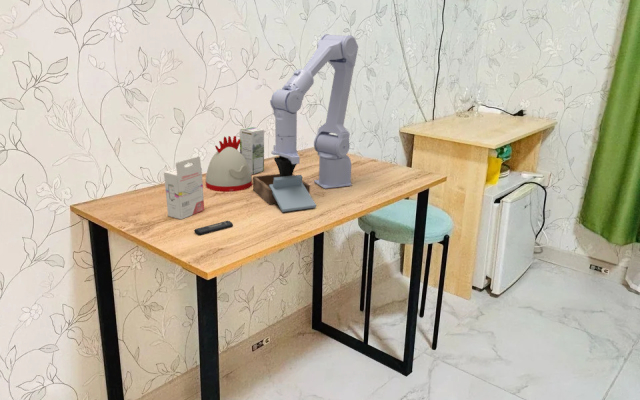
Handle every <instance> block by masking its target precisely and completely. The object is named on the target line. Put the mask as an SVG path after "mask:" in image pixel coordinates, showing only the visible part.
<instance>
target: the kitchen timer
mask: <svg viewBox="0 0 640 400" xmlns="http://www.w3.org/2000/svg"><path fill="white" fill-rule="evenodd" d="M218 143H219V147H220V148H219V147H218V146H217V145H215V144H214V147H215V149H216V152H215V153H214V154H213V155H212V157H211V159H210V161H209V164H208V166H207V170H206V175H205V187H206V188H207V189H209V190H210V191H214V192H221V193H223V192H225V193H229V192H230V193H231V192H233V193H234V192H239V191H240V192H241V191H244V190H248V189H249V188H250V189H251V187H253V175H252V174H251V172H250V169H249V166H248V163H247V161H246V159H245V158H244V156H243V155H242V154H241V153H240V150H238V149H239V148H240V138H239V139H237V136H236V135H234V136H233V138H231V136H229V135H228V137H227V136H223V142H222V140H218Z"/></svg>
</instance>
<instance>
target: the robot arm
mask: <svg viewBox="0 0 640 400" xmlns="http://www.w3.org/2000/svg"><path fill="white" fill-rule="evenodd" d="M316 44H317V45H316V50H315V51H314V53H313V54H312V56H311V57H310V59H309V60H308V61H307V62H306V64H305V66H304V67H303V68H298V69H296V70H294V71H293V72H292V73H293V74H292V75H291V77H290V78H289V79H288V80H287V81H286V83H285V84H284V85H283V87H282V88H279V89H276V91H274V92H273V94H272V96H271V100H269V103H270V106H271V108H272V111H273V115H274V118H275V121H274V122H275V123H274V124H275V129H274V130H275V131H274V132H275V133H274V135H275V138H274V140H275V145H273V150H271V152H270V153H271V155H273V156H276V157H274V158H273V159H274V162H275V165H276V166H277V169H278V172H279V173H278V174H280V177H285V176H292V174H294V170H295V169H296V166H297V165H300V159H301V158H300V155H299V154H298V150H297V146H298V145H297V138H298V137H297V136H298V135H297V134H298V131H297V129H298V128H297V125H298V124H297V122H298V120H297V118H298V116H297V115H298V114H297V113H298V111H300V110H301V108H302V105H303V100H304V97H305V95H306V94H307V93H308V91H309V90H311V88H312V87H313V86H314V83H315V82H314V81H315V79H314V77H315V76H316V75H317V74H318V73H319V72H320V71H321V70H322V69H323V67H324V66H325V65H327V63H329V64H330V65H331V66H332V67H333V69H334V74H333V81H332V85H331V91H330V98H329V103H328V108H327V109H328V110H327V113H326V120H325V122H324V124H322V125H321V126H320V127H318V129H317V133H316V135H315V138H314V140H313V147H314V150H315V152H316V153H317V156H319V158H318V159H319V163H318V164H319V165H318V179H315V180H313V182H314V183H315V184H317V185H318V186H320V187H321V188H322V189H326V190H327V189H334V188H343V187H350V186H352V184H353V183H351V181H352V161H351V158H350V156H349V155H347V154H348V153H349V150H350V135H351V134H350V132H349V131H348V130H347V129H346V127H345V126H344V125H345V124H344V123H345V119H346V112H347V108H348V104H349V103H348V102H349V97H350V93H351V92H350V91H351V86H352V79H353V74H354V69H355V68H354V67H355V66H356V60H357V55H358V49H359V44H358V43H357V41H356V39H355V37H354V36H353V35H350V34H347V35H342V34H340V35H337V34H328V33H325V34H323V35H322V36H321V37H320V39H319V40H318V41H317V42H316ZM277 156H278V157H277Z"/></svg>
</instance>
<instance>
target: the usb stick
mask: <svg viewBox="0 0 640 400" xmlns="http://www.w3.org/2000/svg"><path fill="white" fill-rule="evenodd" d="M233 226H234V224H233V222H231V221H230V220H225V221H221V222H216V223H213V224H210V225H205V226H201V227H198V228H194V230H193V232H194V234H195V235H197V236H203V235H208V234H210V233H216V232H218V231H221V230H225V229H229V228H232V227H233Z"/></svg>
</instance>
